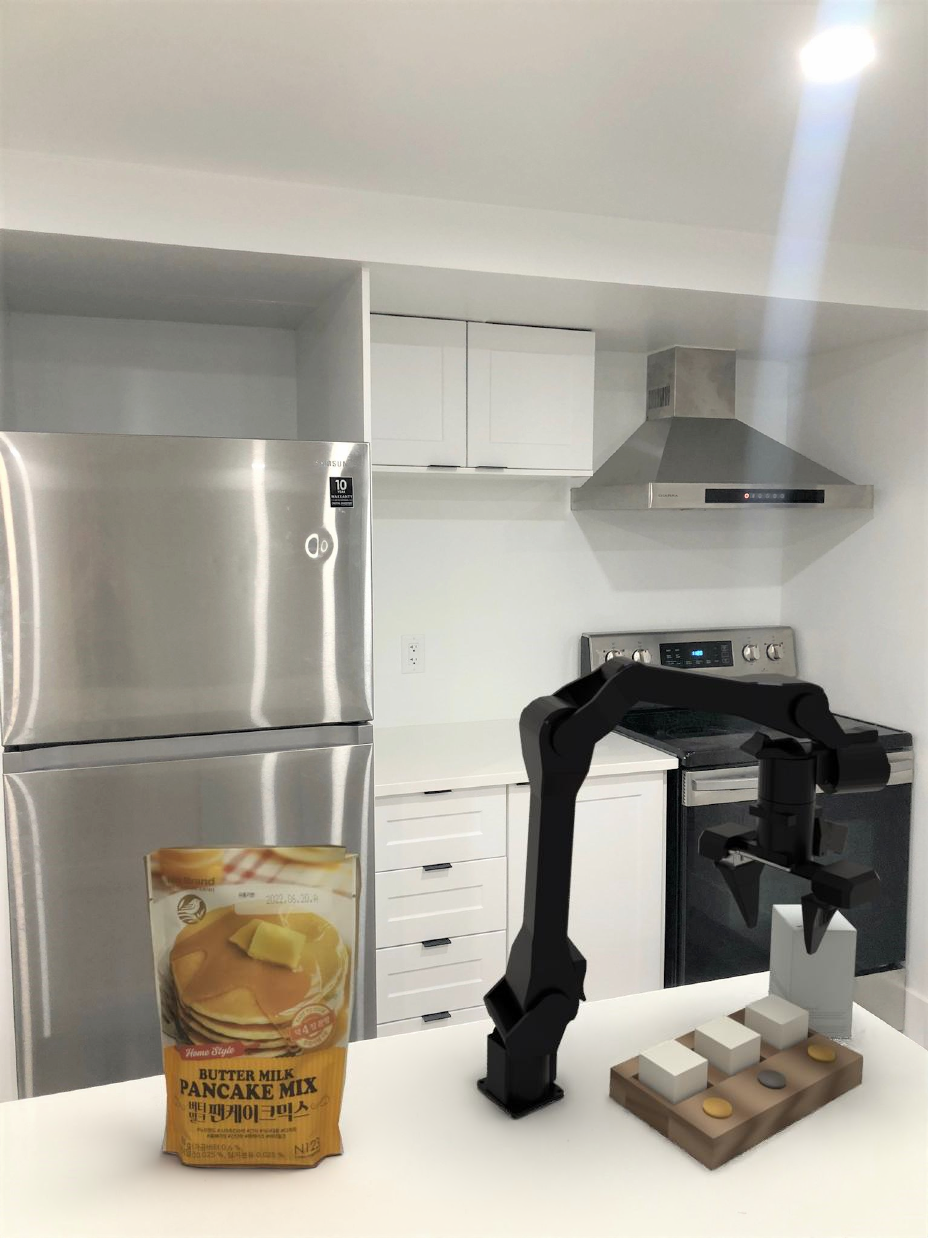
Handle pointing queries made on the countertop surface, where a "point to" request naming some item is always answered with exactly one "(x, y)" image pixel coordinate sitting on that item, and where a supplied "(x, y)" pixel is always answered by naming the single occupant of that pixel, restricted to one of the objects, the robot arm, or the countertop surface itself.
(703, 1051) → the middle button
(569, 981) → the robot arm
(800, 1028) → the far button
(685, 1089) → the near button
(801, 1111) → the button board
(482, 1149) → the countertop surface
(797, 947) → the supplement box
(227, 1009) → the pancake mix bag
